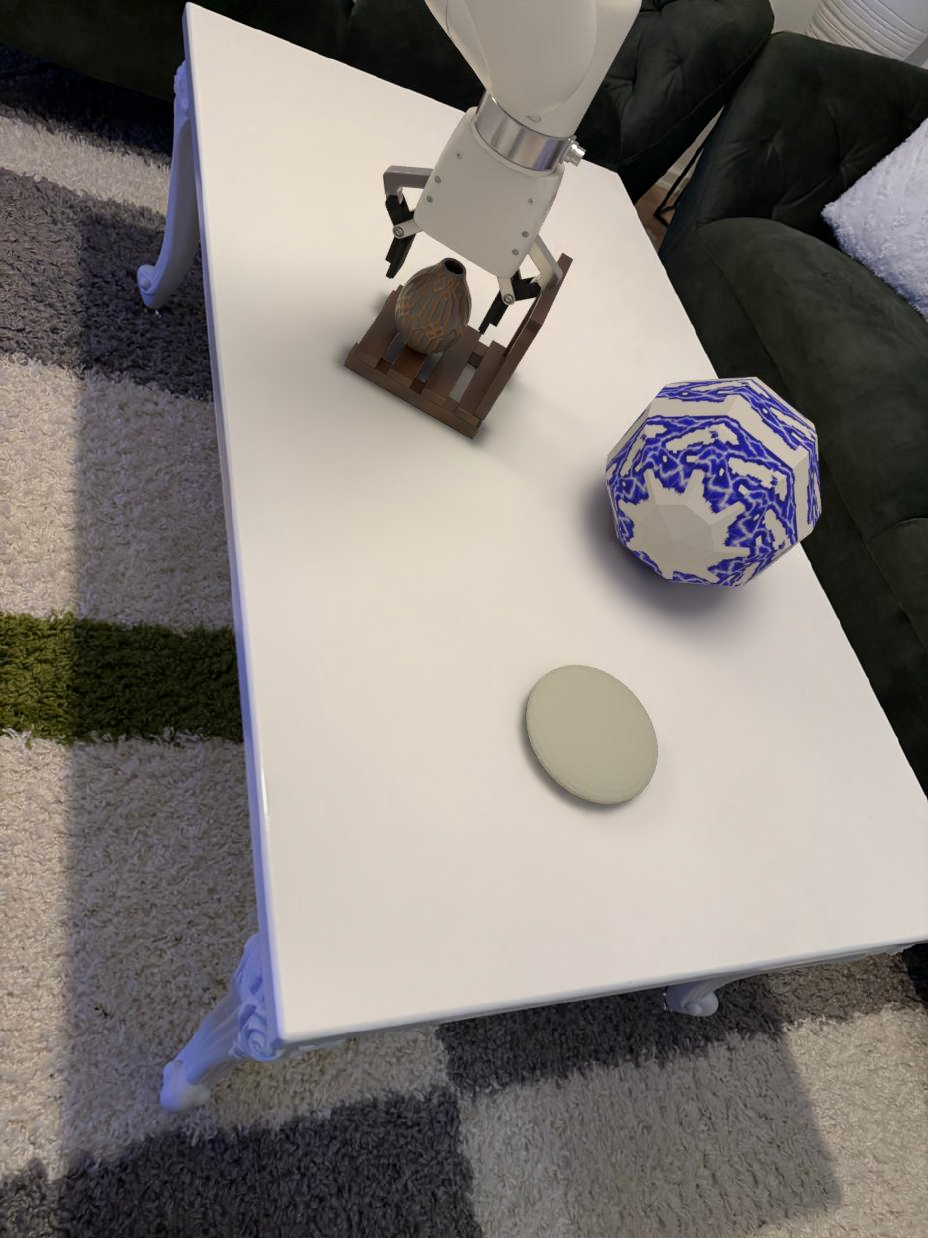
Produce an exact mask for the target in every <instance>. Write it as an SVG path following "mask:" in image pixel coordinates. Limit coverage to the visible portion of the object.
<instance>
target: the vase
mask: <svg viewBox="0 0 928 1238" xmlns="http://www.w3.org/2000/svg"><path fill="white" fill-rule="evenodd" d="M403 286H404V287H403V288H402V290H401V292H400V294H399V297H398V300H397V303H396V308H395V324H396V327H397V330H398V335H399V337H400V338H401V340H402V341H403V342H404V345H405V344H406V345H407V346H409V347H410V348H411V349H413V350H415V351H417V352H419V353H423V354H429V355H434V354H440V353H444V352H445V350H447V349H449V348H450V347H452V346H453V345H454V344H455V343H456V342H457V341H458V340H459V339H460V337H461V336H462V334H463V333H464V331H465V329H466V327H467V325H469V322H470V319H471V315H472V305H473V303H472V294H471V290H470V287H469V284H468V281H467V268H466V266H465V265H464V264H463V263H462V262H461V261H460V260H458V259H456V258H454V257H444V258H443V259H441V260H440V261H439V262H437V263H435V264H432V265H429V266H426V267H423V268H421V269H420V270H418V271H416V272H414V274H413V275H412V276H411V277H409V279H408V280H407V281H406V282H405V283H404V285H403Z"/></svg>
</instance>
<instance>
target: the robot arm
mask: <svg viewBox="0 0 928 1238" xmlns="http://www.w3.org/2000/svg"><path fill="white" fill-rule="evenodd" d="M642 1H643V0H424V2H425V4H426V6H427V7H428V9H429V11H430V12H431V13H432V15H433V17H434V18H435V20H436V21H437V22H438V24H439V25H440V26H441V28H442V29H443V31H444V32H445V34H447V36H448V38H449V39H450V40H451V41H452V43H453V45H454V46H455V47H456V48H457V49H458V50H459V52H460V54H461V55H462V56H463V58H464V60H465V61H466V62H467V63H468V65H469V66H470V67H471V69H472V70H473V72H474V73H475V75H476V76H477V78H478V79H479V80H480V82H481V84H482V85H483V87H484V91H483V93H482V95H481V98H480V100H479V102H478V105H477V106H472V107H469V108H468V109H467V110H466V112H465V113H464V114H463V116H462V117H461V119H460V120H459V122H458V123H457V125H456V126H455V128H454V129H453V131H452V133H451V135H450V137H449V139H448V140H447V142H446V144H445V145H444V147H443V150H442V151H441V153H440V155H439V157H438V159H437V161H436V163H435V165H434V166H433V168H430V167H429V168H428V167H418V166H417V167H416V166H406V165H395V164H394V165H393V164H392V165H390V166H388V167H387V168H386V170H385V171H384V172H383V173H382V180H383V190H384V195H385V201H384V205H385V209H386V211H387V213H388V217H389V218H390V221H391V225H392V230H391V231H392V235H393V238H392V240H391V244H390V245H389V249H388V251H387V254H386V256H385V259H384V260H385V261H386V262H387V263H389V266H388V268H387V271H386V274H385V277H386V278H387V279H389V280H391V279H392V280H394V278H395V277H396V276H397V274H398V273H399V272H400V270H401V269H402V267H403V266H404V264H405V262H406V259H407V258H408V255H409V253H410V250H411V248H412V245H413V243H414V241H415V239H416V236H417V234H418V233H419V234H420V233H422V232H423V233H425V234H426V235H427V236H429V237H430V238H431V239H433V240H435V241H436V242H438V243H440V244H442V245H443V246H444V247H446V248H448V249H449V250H451V251H453V252H454V253H456V254H458V255H459V256H461V257H462V258H464V259H466V260H467V261H469V262H471V263H472V264H474V265H475V266H477V267H479V268H480V269H482V270H484V271H486V272H487V273H489V274H490V275H493V276H495V277H496V279H497V284H498V288H499V290H498V292H497V293H496V295H495V297H494V299H493V300H492V302H491V304H490V306H489V308H488V310H487V312H486V314H485V316H484V318H483V319H482V321H481V323H480V325H479V327H478V329H477V331H479V333H481V334H482V335H481V336H484V335H485V334H486V331H487V330H488V328H489V326H490V325H491V326H493V327H495V328H497V327H498V326H499V324H500V322H501V320H502V319H503V317H504V315H505V314H506V311H507V310H508V307H509V306H512V305H514V304H515V303H516V302H520V301H526V300H532V299H535V298H536V297H537V296H538V295H539V294H540V293H542V292H543V290H544V289H545V287H547V288H549V289H550V288H552V287H554V286H556V285H557V284H559V282H560V280H561V277H562V275H563V272H562V270H561V268H560V267H559V265H558V264H557V261H556V259H555V258H554V256H553V255H552V252H551V251H550V249H549V248H548V246H547V245H546V244H545V242H544V240H543V239H542V237H541V235H540V231H541V229H542V227H543V226H544V224H545V222H546V219H547V217H548V215H549V213H550V211H551V210H552V207H553V204H554V202H555V199H556V197H557V195H558V192H559V189H560V187H561V183H562V181H563V177H564V174H565V170H566V166H565V163H567V164H569V163H570V164H572V165H573V166H575V167H578V166H579V164H580V163H581V161H582V160H583V157H584V156H585V154H586V152H587V150H586V149H585V148H584V147H581V146H580V143H579V142H578V141H576V139H577V136H576V135H575V133H576V131H577V129H578V128H579V125H580V124H581V122H582V119H584V116H585V114H586V113H587V110H588V108H590V105H591V102H593V99H594V97H595V96H596V94H597V92H598V90H599V88H600V86H601V84H602V83H603V81H604V79H605V77H606V75H607V73H608V72H609V69H610V68H611V66H612V63H613V62H614V60H615V58H616V56H617V55H618V53H619V51H620V49H621V47H622V45H623V44H624V42H625V39H626V38H627V36H628V33H629V32H630V30H631V29H632V27H633V25H634V23H635V22H636V21H635V20H636V19H637V17H638V15H639V12H640V9H641V6H642ZM564 162H565V163H564ZM403 188H410V189H420V190H421V189H422V191H421V194H420V196H419V199H418V200H417V202H416V206H415V208H412V209H410V208H409V205H408V203H407V200H406V197H405V194H404V193H403ZM527 256H528V257H529V258H530V259H531V261H532V262H533V264H534V265H535V267H536V269H537V270H538V272H539V274H538V275H536V276H531V277H525V278H523V277H522V274H521V269H520V267H521V266H522V264H523V263H524V261H525V259H526V257H527Z"/></svg>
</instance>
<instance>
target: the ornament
mask: <svg viewBox="0 0 928 1238" xmlns="http://www.w3.org/2000/svg"><path fill="white" fill-rule="evenodd" d="M604 472H605V473H604V478H605V479H604V480H605V483H606V490H607V493H608V498H609V503H610V509H611V513H612V518H613V523H614V528H615V534H616V538H617V539H618V540H619V541H620V543H621V544H622V545H623V546H624V547H625V548H626V549H628V550H629V551H630V552H631V553H632V554H633V555H634V556H636V558H638V559H640V560H641V561H642V562H643V563H644V564H646V565H647V566H648V567H649V568H650V569H651V570H653V571H654V572H655V573H656V574H658V575H659V576H660V577H661V578H662V579H664V580H665V581H668V582H670V583H681V584H695V585H706V586H718V587H729V588H730V587H731V588H741V587H742V586H744V585H746V584H748V583H749V582H751V581H753V580H755V579H756V578H757V577H758V576H760V575H761V574H763V573H764V572H765V571H766V570H768V568H770V567H771V566H772V565H773V564H774V563H776V562H777V561H779V559H781V558H782V557H783V556H784V555H786V554H787V553H788V552H789V551H791V550H792V549H793V548H794V547H796V546H797V545H799V543H801V541H803V540H804V539H805V538H806V537H808V536H809V535H810V534H811V533H812V532H813V530H814V528H815V526H816V524H817V522H818V520H819V518H820V516H821V514H822V499H821V482H820V461H819V444H818V435H817V430H816V427H815V423H813V422H812V421H811V420H809V419H808V418H807V417H805V416H804V415H803V414H802V413H801V412H800V411H799V410H797V409H796V408H795V407H793V406H792V405H791V404H790V403H789V402H787V401H786V400H785V399H784V398H783V397H781V396H780V395H779V394H778V393H777V392H775V391H774V390H773V389H772V388H770V387H769V386H768V385H767V384H766V383H764V382H763V381H762V380H761V379H759V378H758V377H757V376H748V377H746V376H745V377H728V378H709V379H708V378H707V379H706V378H705V379H688V380H687V379H686V380H681V381H676V382H675V381H674V382H671V383H666V384H665V385H664V386H663V387H662V388H661V389H660V391H658V392H657V394H656V395H655V397H653V399H652V400H651V401H650V402H649V404H648V405H647V406H646V407H645V408H644V410H643V411H642V412H641V413H640V414H639V416H638V417H637V418H636V420H635V421H634V422H633V423H632V425H630V427H629V428H628V429H627V431H626V432H625V433H624V434H623V436H621V438H620V439H619V440H618V441H617V442H616V444H615V445H614V446H613V448H612V449H611V450H610V452H609V453H608V454H607V455H606V465H605V471H604Z"/></svg>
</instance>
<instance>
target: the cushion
mask: <svg viewBox="0 0 928 1238" xmlns="http://www.w3.org/2000/svg"><path fill="white" fill-rule="evenodd" d="M525 721H526V723H525V724H526V729H527V735H528V738H529V741H530V744H531V747H532V750H533V752H534V753H535V754H534V755H535V756H536V757H537V760H538V761H539V762H540V764H541V766H542V767H543V769H544V770H545V771H546V772H547V773H548V775H549V776H550V777H551V778H552V779H553V780H554V781H555V782H556V783H557V784H559V786H561V787H562V788H563V789H564V790H566V791H568V792H569V793H571V794H572V795H574V796H576V797H578V798H580V799H583V800H586V801H588V802H592V803H596V804H604V805H611V804H612V805H614V804H619V803H624V802H627V801H629V800H632V799H633V798H635V797H637V796H639V795H640V794H641V793H642V792H643V791H644V790H645V789H646V788H647V786H648V785H649V784H650V782H651V781H652V779H653V777H654V775H655V772H656V769H657V764H658V757H659V748H658V747H659V745H658V738H657V735H656V730H655V727H654V725H653V722H652V719H651V718H650V714H649V713H648V712H647V710H646V708H645V706H644V704H643V703H642V702H641V701H640V699H639V698H638V697H637V696H636V694H635V693H634V692H633V691H632V690H631V689H630V688H629V687H628V686H627V685H626V684H624V683H623V682H622V681H621V680H620V679H618V678H617V677H615V676H614V675H612V674H611V673H608V672H606V671H604V670H602V669H599V668H597V667H594V666H590V665H582V664H569V665H563V666H559V667H557V668H555V669H552V670H550V671H548V672H546V673H545V674H544V675H543V676H542V677H540V679H539V680H537V683H536V684H535V685H534V687H533V689H532V690H531V692H530V695H529V697H528V701H527V705H526V713H525Z"/></svg>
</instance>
